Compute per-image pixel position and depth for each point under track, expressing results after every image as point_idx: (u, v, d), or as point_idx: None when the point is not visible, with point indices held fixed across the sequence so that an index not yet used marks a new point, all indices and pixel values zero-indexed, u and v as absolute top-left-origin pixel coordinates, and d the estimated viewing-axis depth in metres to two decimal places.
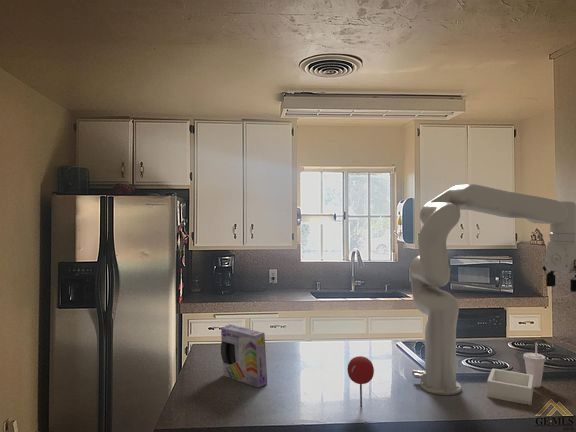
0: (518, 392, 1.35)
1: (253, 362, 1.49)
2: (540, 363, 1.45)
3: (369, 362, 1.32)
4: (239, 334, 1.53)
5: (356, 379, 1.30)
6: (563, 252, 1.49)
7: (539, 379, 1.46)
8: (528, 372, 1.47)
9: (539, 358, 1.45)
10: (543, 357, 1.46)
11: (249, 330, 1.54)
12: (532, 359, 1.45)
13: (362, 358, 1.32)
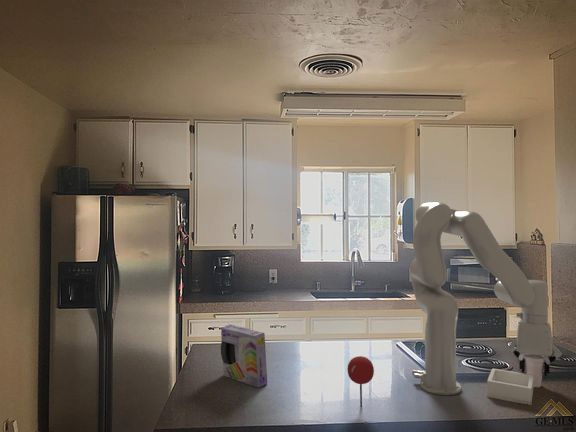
0: (518, 392, 1.35)
1: (253, 362, 1.49)
2: (540, 363, 1.45)
3: (369, 362, 1.32)
4: (239, 334, 1.53)
5: (356, 379, 1.30)
6: (544, 335, 1.44)
7: (539, 379, 1.46)
8: (528, 372, 1.47)
9: (539, 358, 1.45)
10: (543, 357, 1.46)
11: (249, 330, 1.54)
12: (532, 359, 1.45)
13: (362, 358, 1.32)
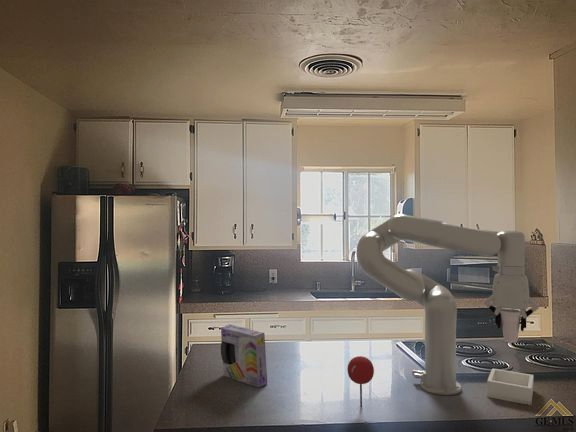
0: (518, 392, 1.35)
1: (253, 362, 1.49)
2: (516, 317, 1.38)
3: (369, 362, 1.32)
4: (239, 334, 1.53)
5: (356, 379, 1.30)
6: (520, 287, 1.37)
7: (515, 334, 1.39)
8: (504, 327, 1.40)
9: (515, 312, 1.39)
10: None
11: (249, 330, 1.53)
12: (508, 313, 1.39)
13: (362, 358, 1.32)
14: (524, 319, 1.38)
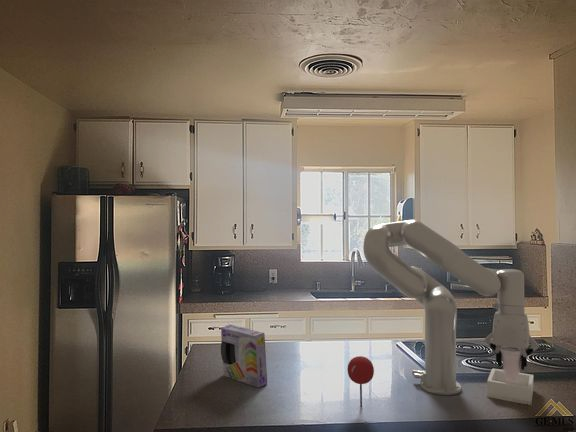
0: (518, 392, 1.35)
1: (253, 362, 1.49)
2: (517, 356, 1.39)
3: (369, 362, 1.32)
4: (239, 334, 1.53)
5: (356, 379, 1.30)
6: (520, 326, 1.37)
7: (516, 373, 1.39)
8: (505, 365, 1.41)
9: (515, 351, 1.39)
10: (520, 349, 1.40)
11: (249, 330, 1.54)
12: (508, 352, 1.39)
13: (362, 358, 1.32)
14: (524, 358, 1.39)
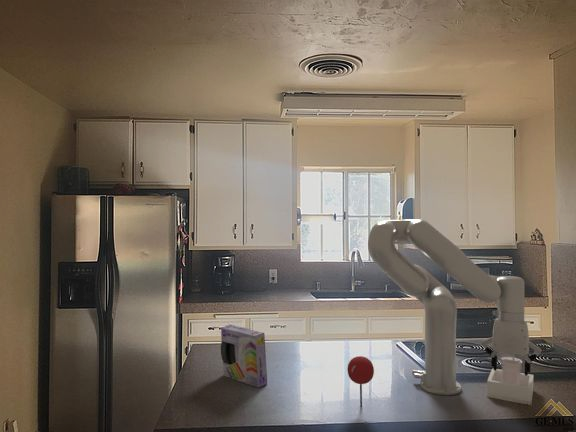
0: (518, 392, 1.35)
1: (253, 362, 1.49)
2: (517, 368, 1.38)
3: (369, 362, 1.32)
4: (239, 334, 1.53)
5: (356, 379, 1.30)
6: (520, 333, 1.37)
7: None
8: (504, 377, 1.41)
9: (516, 363, 1.38)
10: (520, 362, 1.39)
11: (249, 330, 1.54)
12: (509, 364, 1.39)
13: (362, 358, 1.32)
14: (528, 364, 1.38)
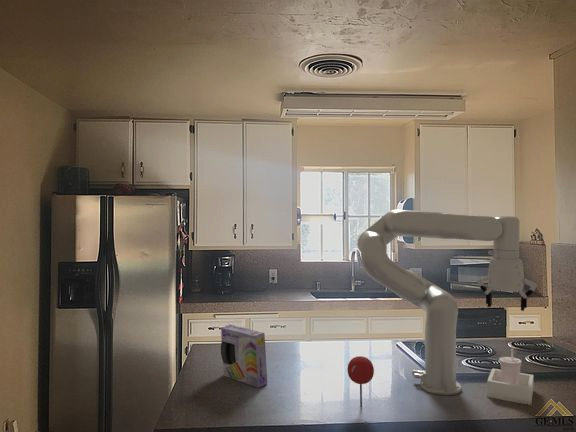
0: (518, 392, 1.35)
1: (253, 362, 1.49)
2: (516, 367, 1.39)
3: (369, 362, 1.32)
4: (239, 334, 1.53)
5: (356, 379, 1.30)
6: (514, 270, 1.41)
7: (515, 384, 1.39)
8: (504, 377, 1.41)
9: (515, 362, 1.39)
10: (519, 361, 1.40)
11: (249, 330, 1.54)
12: (507, 363, 1.39)
13: (362, 358, 1.32)
14: (524, 299, 1.42)
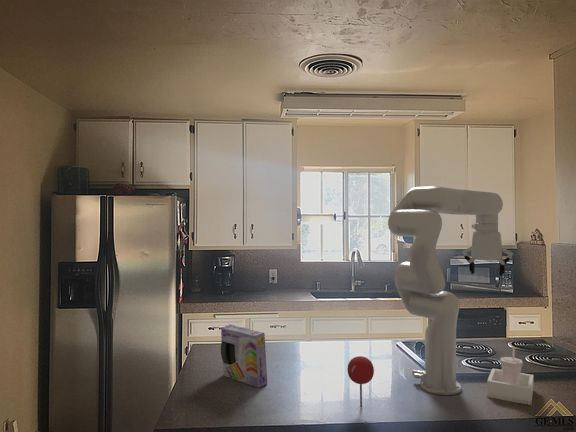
0: (518, 392, 1.35)
1: (253, 362, 1.49)
2: (517, 368, 1.38)
3: (369, 362, 1.32)
4: (239, 334, 1.53)
5: (356, 379, 1.30)
6: (494, 240, 1.62)
7: (515, 384, 1.39)
8: (504, 377, 1.41)
9: (516, 363, 1.39)
10: (520, 362, 1.40)
11: (249, 330, 1.54)
12: (508, 363, 1.39)
13: (362, 358, 1.32)
14: (502, 266, 1.63)
